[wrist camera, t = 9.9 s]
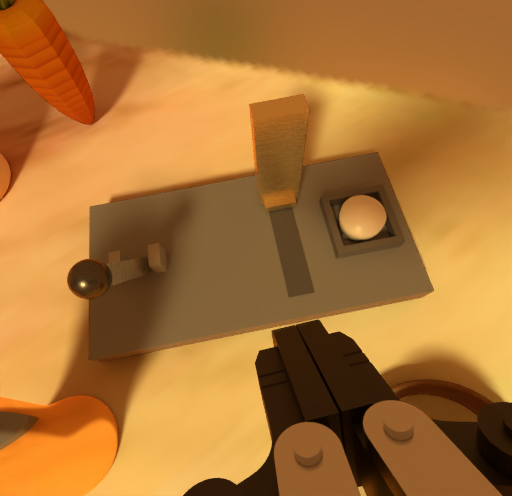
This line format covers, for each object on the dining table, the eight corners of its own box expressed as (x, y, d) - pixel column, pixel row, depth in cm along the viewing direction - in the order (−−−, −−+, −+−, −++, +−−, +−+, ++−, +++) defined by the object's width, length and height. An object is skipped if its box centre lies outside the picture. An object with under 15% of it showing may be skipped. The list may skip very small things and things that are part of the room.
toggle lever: (130, 282, 24) (63, 306, 15) (124, 255, 24) (54, 264, 15) (157, 276, 24) (106, 298, 15) (151, 250, 24) (97, 256, 15)
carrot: (92, 151, 31) (-53, -32, 17) (55, 131, 33) (-108, -56, 19) (125, 115, 33) (16, -79, 19) (89, 97, 34) (-38, -99, 20)
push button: (344, 245, 24) (348, 238, 23) (332, 207, 25) (335, 199, 24) (387, 237, 24) (392, 229, 23) (373, 199, 25) (377, 191, 24)
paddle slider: (261, 212, 25) (255, 130, 17) (255, 186, 26) (247, 95, 18) (299, 205, 25) (312, 119, 17) (292, 179, 26) (301, 85, 18)
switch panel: (103, 361, 24) (75, 358, 21) (101, 218, 29) (78, 196, 25) (422, 297, 25) (445, 284, 21) (370, 166, 29) (383, 138, 26)
